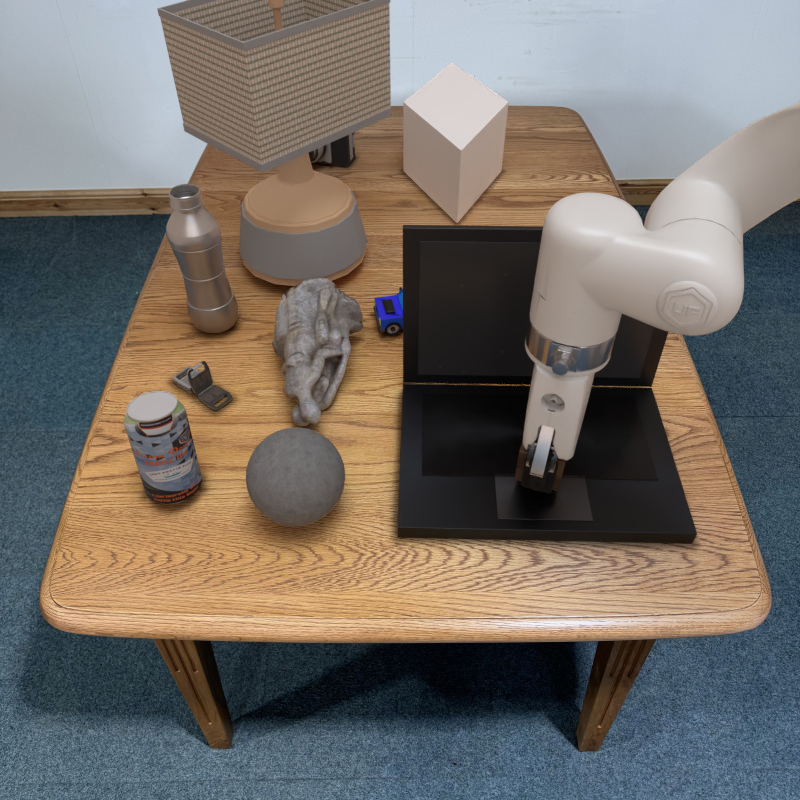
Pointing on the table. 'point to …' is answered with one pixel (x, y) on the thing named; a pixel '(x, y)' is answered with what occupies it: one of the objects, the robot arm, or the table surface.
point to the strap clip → (201, 385)
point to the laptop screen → (491, 310)
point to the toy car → (389, 313)
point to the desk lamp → (284, 115)
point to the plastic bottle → (200, 260)
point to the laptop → (523, 507)
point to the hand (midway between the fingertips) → (541, 467)
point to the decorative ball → (295, 476)
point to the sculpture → (314, 344)
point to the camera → (335, 152)
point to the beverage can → (163, 447)
